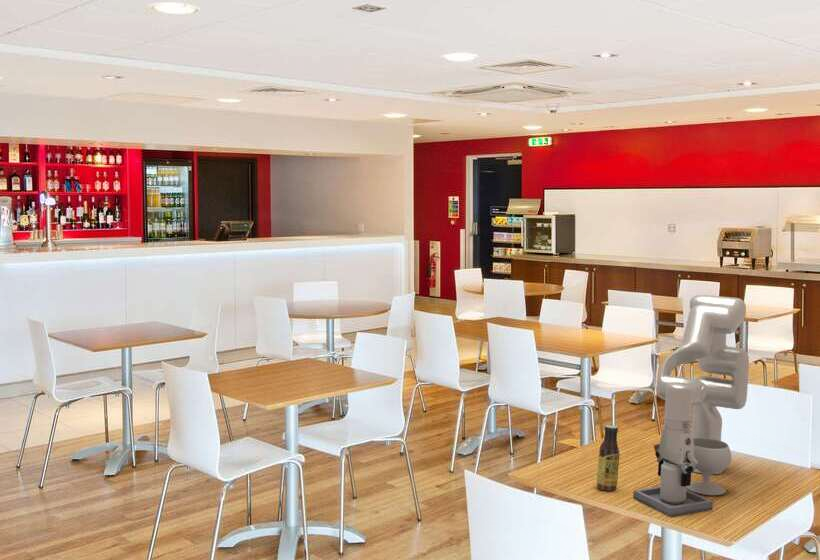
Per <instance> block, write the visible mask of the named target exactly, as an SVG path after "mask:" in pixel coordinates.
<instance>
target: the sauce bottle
mask: <svg viewBox="0 0 820 560" xmlns="http://www.w3.org/2000/svg"><path fill="white" fill-rule="evenodd" d="M618 431H619V427H618V425H612V424H606V425H604V438H603V439H604V440H603V441H602V442H601V444H600V447H599V453H598V460H597V461H598V462H597V473H596V488H597V489H598V490H601V491H605V492H613V491H615V490H616V489H617V485H618V479H619V478H618V477H619V476H618V475H619V467H620V466H619V464H620V454H621V453H620V450H619V445H618V441H617V440H618V433H619V432H618Z"/></svg>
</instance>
